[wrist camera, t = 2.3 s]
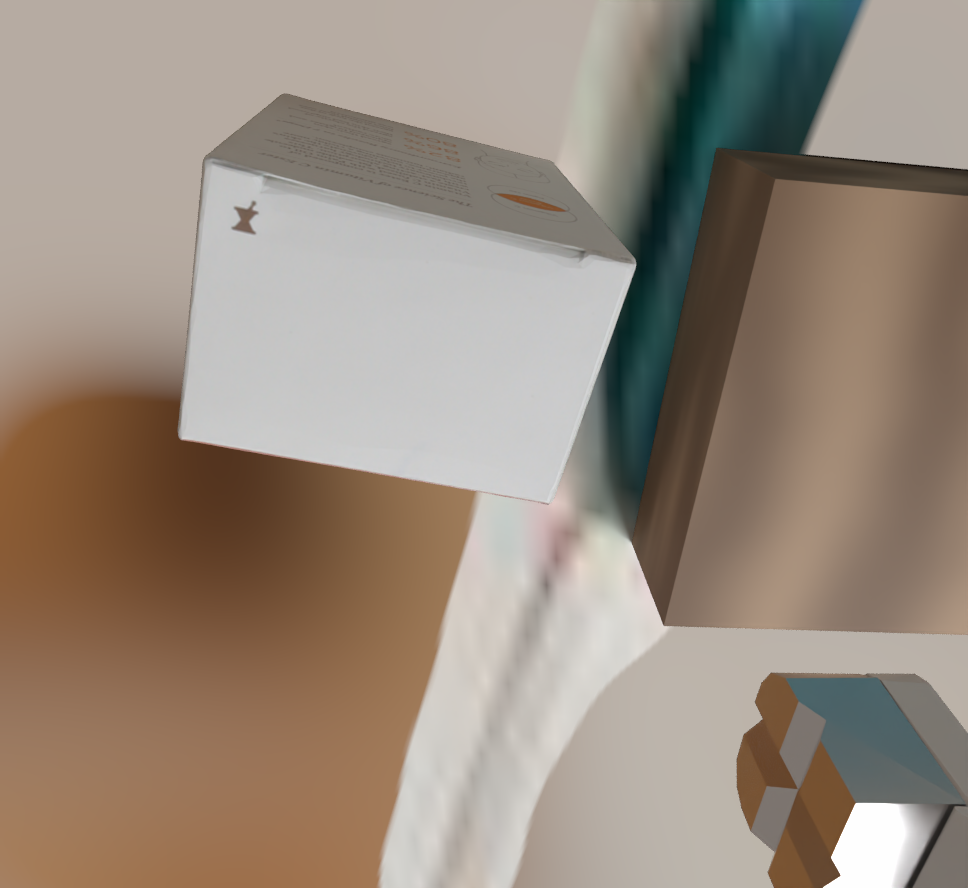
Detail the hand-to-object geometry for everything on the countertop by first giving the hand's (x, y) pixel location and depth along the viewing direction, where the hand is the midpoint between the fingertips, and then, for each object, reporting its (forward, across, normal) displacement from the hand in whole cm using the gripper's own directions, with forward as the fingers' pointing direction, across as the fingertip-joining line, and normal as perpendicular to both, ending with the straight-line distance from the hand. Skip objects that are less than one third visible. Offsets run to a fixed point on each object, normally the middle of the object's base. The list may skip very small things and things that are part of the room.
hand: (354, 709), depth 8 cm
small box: (+20, 0, 0) cm, 20 cm away
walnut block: (+20, -16, +4) cm, 26 cm away
